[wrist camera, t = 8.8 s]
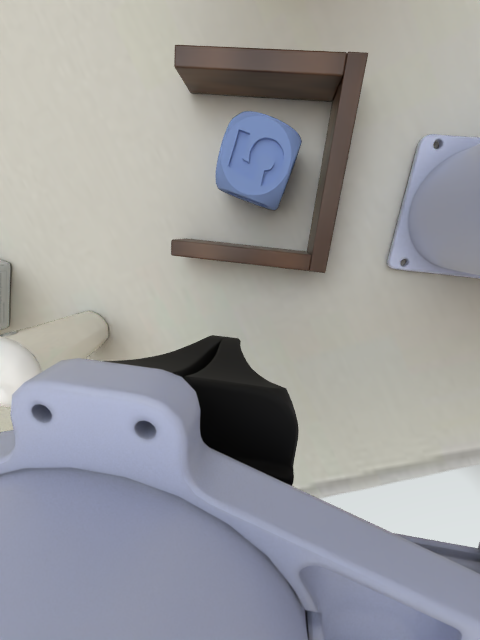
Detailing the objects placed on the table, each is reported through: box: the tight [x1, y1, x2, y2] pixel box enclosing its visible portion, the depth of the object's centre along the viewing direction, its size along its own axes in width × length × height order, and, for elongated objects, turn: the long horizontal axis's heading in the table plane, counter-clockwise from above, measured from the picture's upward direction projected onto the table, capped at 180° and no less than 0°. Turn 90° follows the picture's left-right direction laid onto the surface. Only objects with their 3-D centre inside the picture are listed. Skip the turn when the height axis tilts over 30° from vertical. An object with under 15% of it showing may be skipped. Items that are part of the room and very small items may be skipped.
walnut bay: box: [171, 45, 368, 273], centre depth 17 cm, size 10×11×3 cm
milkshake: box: [0, 311, 109, 407], centre depth 19 cm, size 4×5×10 cm
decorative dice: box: [216, 111, 302, 210], centre depth 17 cm, size 4×4×4 cm
